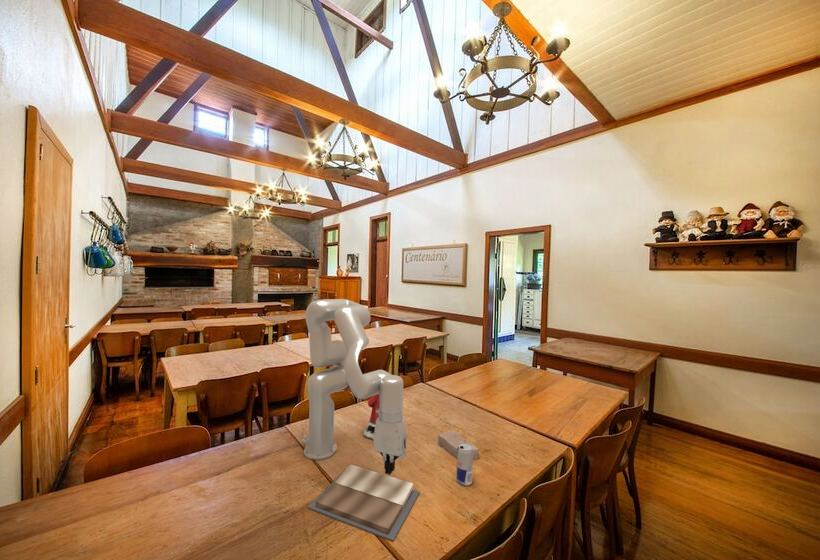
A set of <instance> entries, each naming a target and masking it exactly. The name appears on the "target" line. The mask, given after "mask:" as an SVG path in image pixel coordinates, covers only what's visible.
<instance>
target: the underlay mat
mask: <svg viewBox="0 0 820 560" xmlns="http://www.w3.org/2000/svg"><path fill="white" fill-rule="evenodd" d="M340 476H341V474H340V475H339V476H337V477H336V478H335V479H334V480H333V481H332V482H331V483H330V484H329V485H328V486H327V487H326V488H325V489H324V490H323V491H322V492H321V493H320V494H319V495H318V496H317V497H316V498H315V499H314V500H313V501H312V502H311V503H310V504H309V505H308V506H307V509H308V510H311V511H312V512H313V511H314V513H315V512H316V513H319V514H321V515H324V516H326V517H329V518H331V519H334V520H336V521H338V522H341V523H344V524H347V525H349V526H351V527H354V528H357V529H360V530H362V531H365V532H367V533H369V534H372V535H374V536H377V537H379V538H382V539H385V540H388V541H390V542H392V541H395V540H396V538H397V537H398V536H397V535H398V534H399V533H400V530H401V528H402V527H403V525H404V523H405V521H406V520H407V518H408V515H409V514H410V511H411V510H412V509H413V507H414V505H415V503H416V501H417V499H418V497H419V496H420V493H421V492H420V491H419V490H415V489H414V488H413V489H412V491H411V493H410V495H409V497H408V499H407V501H406V503H405V505H404V507H403V509H402V511H401V513H400V515H399V517H398V518H397V520H396V522H395V524H394V525H393V527H392V529H391V531H390V532H389V534H386V533H383V532H381V531H378V530H375V529H373V528H370V527H368V526H365V525H362V524H360V523H357V522H354V521H352V520H349V519H347V518H344V517H341V516H339V515H336V514H334V513H331V512H328V511H326V510H323V509H320V508H318V507H316V501H317V500H318V499H319V498H320V497H321V496H322V495H323V494H324V493H325V492H326V491H327V490H328V489H329V488H330V487H331V486H332V485H333V484H334V483H335V481H336V480H337V479H338V478H339V477H340ZM394 539H395V540H394Z"/></svg>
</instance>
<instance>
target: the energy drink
mask: <svg viewBox="0 0 820 560" xmlns="http://www.w3.org/2000/svg"><path fill="white" fill-rule="evenodd" d="M473 463H474V461H473V447H472V445H470V444H468V443H460V444H459V445H458V448H457V459H456V477H455V478H456V482H457V483H458V484H459V485H460V486H463V487H468V486H471V484H472V483H473V471H474V470H473V467H474V466H473V465H474V464H473Z"/></svg>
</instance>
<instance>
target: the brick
mask: <svg viewBox="0 0 820 560" xmlns="http://www.w3.org/2000/svg"><path fill="white" fill-rule="evenodd" d="M437 435H438V436H437V437H438V438H437V444H438V445H439V446H440V447H441V448H442V447H443V448H444V449H443V448H442V449H443V450H445V451H446V452H447V453H449V454H450V456H453V457H454V458H455V459H456V460H457V448H458V445H459V444H460V443H468V444H470V445H472V447H473V462H475V461H478V459H479V455H480V453H479V448H478V447H477V446H476V445H475V444H473V443H471V442H470V441H467V440H466V438H465V437H463V436H461V435H460V434H459V433H458V432H457V431H455V430H453V429H452V430H447V431H444V432H443V433H440V434H437Z"/></svg>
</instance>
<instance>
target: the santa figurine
mask: <svg viewBox="0 0 820 560" xmlns="http://www.w3.org/2000/svg"><path fill="white" fill-rule="evenodd" d="M367 406H368V407H369V408H371V413H370V416H369V421H368V423H367V426H366V428H365V430H364V431H363V436H364V437H365V438H368V439H370V440H373V439H374V431H375V425H376V420H377V418H378V417H379V414H378V413H376V409H380V394H376V395H373V396H371V397H369V398H368V400H367Z"/></svg>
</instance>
